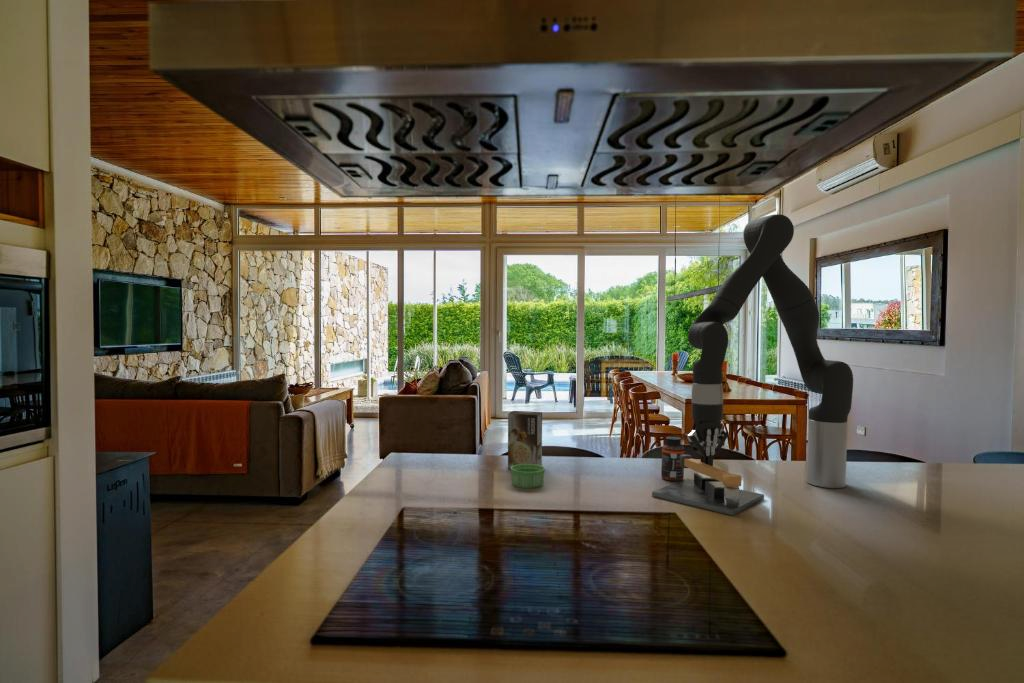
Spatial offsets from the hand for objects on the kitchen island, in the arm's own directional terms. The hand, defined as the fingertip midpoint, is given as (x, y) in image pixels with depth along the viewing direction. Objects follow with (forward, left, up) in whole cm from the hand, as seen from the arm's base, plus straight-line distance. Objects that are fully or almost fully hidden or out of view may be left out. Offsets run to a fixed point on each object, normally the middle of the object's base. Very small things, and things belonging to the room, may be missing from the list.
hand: (706, 469), depth 148 cm
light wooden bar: (+5, +3, 0) cm, 6 cm away
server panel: (+5, +3, -6) cm, 8 cm away
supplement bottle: (-5, -12, -6) cm, 15 cm away
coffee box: (+15, -48, -6) cm, 51 cm away
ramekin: (+28, -36, -6) cm, 46 cm away
